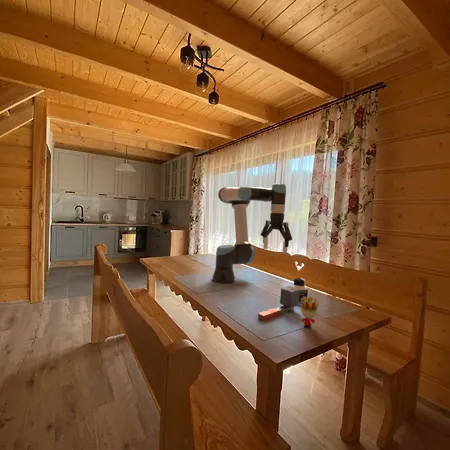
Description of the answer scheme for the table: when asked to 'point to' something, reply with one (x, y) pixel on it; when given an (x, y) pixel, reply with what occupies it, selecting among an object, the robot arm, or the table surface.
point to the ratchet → (274, 313)
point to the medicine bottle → (300, 288)
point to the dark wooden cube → (289, 296)
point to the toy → (308, 310)
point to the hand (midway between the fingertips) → (274, 250)
